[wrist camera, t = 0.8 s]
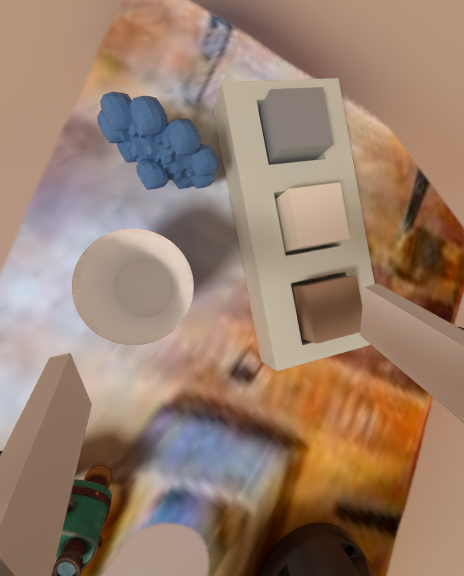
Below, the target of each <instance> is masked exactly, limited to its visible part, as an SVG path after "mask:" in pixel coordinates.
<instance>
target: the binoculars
mask: <svg viewBox="0 0 464 576" xmlns="http://www.w3.org/2000/svg"><path fill="white" fill-rule="evenodd" d="M110 482H111V473H110V471H109V469H107V468H106V467H104V466H97V467H94V468H92V469H91V470H90V471H89V472H88V473H87V474H86V476H85V479H84V480H74V482H73V486H72V491H71V495H70V499H69V503H68V508H67V512H66V516H65V520H64V525H63V529H62V533H61V537H60V542H59V546H58V550H57V554H56V559H57V560H56V562H55V564H54V567H53V571H52V576H80V574H81V570H82V569H84V568H85V567H86V566H87V565H88V564H89V562H90V561H91V560H92V559H93V558H94V557H95V554H96V551H97V549H98V548H100V547H101V546H102V538H101V536H100V534H101V531H102V528H103V524H104V522H105V521H106V518H107V515H109V513H110V512H109V510H110V506H111V498H112V494H111V491H110V490H109V489H108V488H109V485H110Z"/></svg>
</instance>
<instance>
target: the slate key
mask: <svg viewBox="0 0 464 576" xmlns="http://www.w3.org/2000/svg"><path fill="white" fill-rule="evenodd" d="M258 111H259V116H260V121H261V127H262V132H263V138H264V143H265V148H266V154H267V159H268V164H269V165H273V164H282V163H292V162H302V161H311V160H316V159H317V158H318V157H319V156H320V155H322V154H323V153H324V152H325V151H326V150H327V149H329V148H330V147H331V146H332V145H333V139H332V134H331V128H330V122H329V117H328V111H327V106H326V100H325V94H324V89H323V87H311V88H286V89H270V90H269V92H268V94H267V96H266V97H265V99H264V101H263V103H262V105H261V107H260V108H259V110H258Z"/></svg>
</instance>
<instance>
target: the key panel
mask: <svg viewBox="0 0 464 576" xmlns="http://www.w3.org/2000/svg"><path fill="white" fill-rule="evenodd" d="M311 87H323V89H324V94H325V100H326V106H327V111H328V117H329V122H330V128H331V134H332V139H333V145H332V146H331V147H330V148H329V149H327V150H326V151H325V152H324V153H323V154H322V155H320V156H319V157H318V158H317V159H316V160H311V161H302V162H292V163H282V164H273V165H269V164H268V159H267V154H266V148H265V143H264V138H263V132H262V127H261V121H260V116H259V111H258V110H259V108H260V107H261V105H262V103H263V101H264V99H265V97H266V96H267V94H268V92H269V90H270V89H286V88H311ZM213 112H214V117H215V123H216V128H217V133H218V138H219V144H220V149H221V154H222V159H223V164H224V170H225V175H226V180H227V185H228V191H229V196H230V201H231V206H232V211H233V217H234V222H235V227H236V232H237V238H238V243H239V248H240V253H241V258H242V264H243V269H244V274H245V279H246V285H247V290H248V295H249V300H250V306H251V311H252V316H253V321H254V326H255V332H256V337H257V342H258V347H259V353H260V358H261V361H262V362H264V363H265V364H267V365H268V366H270V367H271V368H272V369H274V370H275V371H279V370H282V369H286V368H290V367H293V366H297V365H300V364H304V363H307V362H311V361H314V360H318V359H322V358H325V357H329V356H332V355H336V354H339V353H343V352H347V351H350V350H354V349H357V348H361V347H364V346H368V345H371V344H370V343H368V342H367V341H366V340H365V339H364V338H363V337H361V336H360V332H359V333H355V334H352V335H348V336H344V337H340V338H337V339H333V340H329V341H325V342H322V343H318V344H316V343H313V342H310V341H307V340H304V339H301V336H300V331H299V325H298V320H297V315H296V309H295V304H294V299H293V293H292V288H291V287H292V286H296V285H301V284H306V283H311V282H315V281H320V280H325V279H330V278H334V277H345V276H357V279H358V285H359V291H360V296H361V302H362V306H363V294H364V287H366V286H370V285H375V283H374V278H373V272H372V266H371V261H370V255H369V249H368V244H367V238H366V232H365V227H364V221H363V215H362V210H361V204H360V198H359V193H358V187H357V181H356V176H355V170H354V164H353V159H352V153H351V147H350V142H349V136H348V130H347V125H346V119H345V113H344V108H343V102H342V96H341V91H340V85H339V79H338V78H336V79H305V80H275V81H244V82H221V86H220V89H219V92H218V96H217V99H216V103H215V106H214V109H213ZM339 182H340V184H341V190H342V195H343V201H344V207H345V212H346V218H347V223H348V229H349V235H350V239H347V240H343V241H339V242H336V243H332V244H328V245H323V246H317V247H312V248H306V249H301V250H295V251H289V252H285V250H284V245H283V240H282V234H281V229H280V223H279V218H278V213H277V207H276V202H275V199H276V198H278V197H279V196H280V195H281V194H283V193H284V192H285V191H286V190H288V189H291V188H299V187H307V186H315V185H323V184H331V183H339Z"/></svg>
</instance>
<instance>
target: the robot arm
mask: <svg viewBox="0 0 464 576" xmlns="http://www.w3.org/2000/svg"><path fill="white" fill-rule="evenodd" d="M360 336H361V337H363V338H364V339H365V340H366V341H367V342H368V343H370V344H371V345H372V346H373V347H374V348H376V349H377V350H378V351H379V352H380V353H382V354H383V355H384V356H385V357H386V358H387V359H389V360H390V361H391V362H392V363H393V364H395V365H396V366H397V367H398V368H399V369H401V370H402V371H403V372H404V373H405V374H406V375H408V376H409V377H410V378H411V379H412V380H414V381H415V382H416V383H417V384H418V385H420V386H421V387H422V388H423V389H424V390H425V391H427V392H428V393H429V394H430V395H431V396H433V397H434V398H435V399H436V400H437V401H439V402H440V403H441V404H442V405H443V406H444V407H446V408H447V409H448V410H449V411H451V412H452V413H453V414H454V415H455V416H456V417H458V418H459V419H460V420H461V421H462V422H463V423H464V328H461V327H456V326H455V325H453V324H451V323H449V322H447V321H446V320H444V319H442V318H440V317H438V316H436V315H435V314H433V313H431V312H429V311H427V310H425V309H424V308H422V307H420V306H418V305H416V304H415V303H413V302H411V301H409V300H407V299H405V298H404V297H402V296H400V295H398V294H396V293H394V292H393V291H391V290H389V289H387V288H385V287H384V286H382V285H380V284H375V285H370V286H366V287H364V294H363V306H362V318H361V330H360ZM91 406H92V404H91V402H90V399H89V397H88V394H87V392H86V390H85V387H84V385H83V382H82V380H81V378H80V375H79V373H78V370H77V368H76V366H75V363H74V361H73V358H72V356H71V354H70V353H69V354H65V355H60V356H56V357H51V358H49V360H48V362H47V364H46V366H45V368H44V370H43V372H42V374H41V376H40V378H39V380H38V382H37V384H36V386H35V388H34V390H33V392H32V394H31V396H30V398H29V400H28V402H27V404H26V406H25V408H24V410H23V412H22V414H21V416H20V418H19V420H18V422H17V424H16V426H15V428H14V430H13V432H12V434H11V436H10V438H9V440H8V442H7V444H6V446H5V448H4V450H3V451H0V576H52V571H53V567H54V563H55V559H56V554H57V550H58V546H59V542H60V537H61V533H62V529H63V525H64V520H65V516H66V512H67V508H68V503H69V499H70V495H71V491H72V486H73V482H74V478H75V474H76V469H77V465H78V461H79V457H80V452H81V448H82V444H83V440H84V435H85V431H86V427H87V423H88V418H89V414H90V410H91ZM259 576H375V575H374V573H373V570H372V568H371V565H370V563H369V561H368V559H367V557H366V556H365V554H364V552H363V551H362V550H361V548H360V547H359V546H358V544H357V543H356V542H355V541H354V539H353V538H352V537H351V536H350V535H349V534H348V533H347V532H346V531H344V530H343V529H341V528H339V527H337V526H334V525H331V524H324V523H319V524H311V525H307V526H304V527H302V528H299V529H297V530H295V531H294V532H292V533H291V534H289V535H288V536H286V537H285V538H284V539H283V540H282V541H281V542H280V543H279V544H278V545H277V546H276V547H275V548H274V549H273V550H272V552H271V553H270V555H269V556H268V558H267V559H266V561H265V563H264V565H263V567H262V570H261V572H260V575H259Z"/></svg>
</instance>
